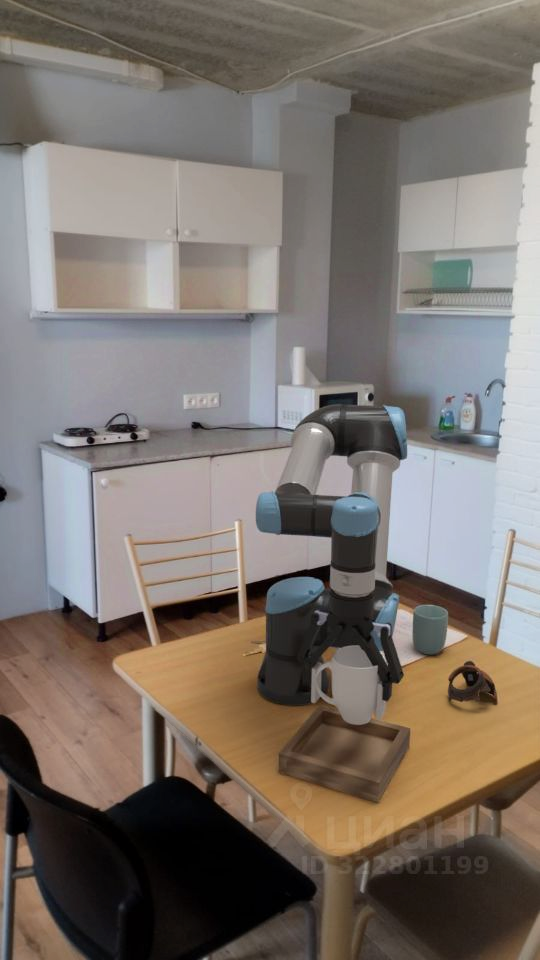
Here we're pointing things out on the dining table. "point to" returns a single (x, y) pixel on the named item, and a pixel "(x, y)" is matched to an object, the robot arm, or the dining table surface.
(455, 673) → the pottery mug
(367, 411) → the robot arm
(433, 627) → the cup
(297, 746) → the tray
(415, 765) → the dining table surface
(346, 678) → the mug
